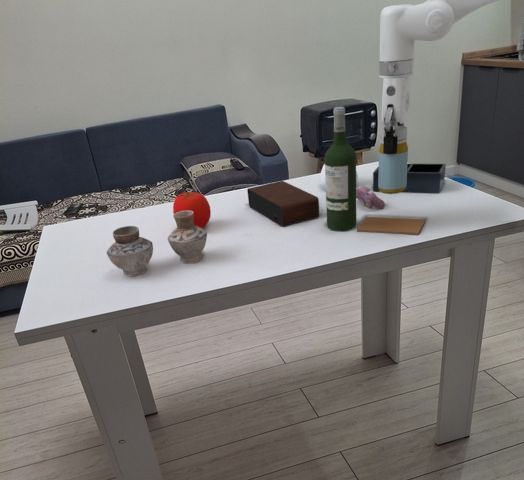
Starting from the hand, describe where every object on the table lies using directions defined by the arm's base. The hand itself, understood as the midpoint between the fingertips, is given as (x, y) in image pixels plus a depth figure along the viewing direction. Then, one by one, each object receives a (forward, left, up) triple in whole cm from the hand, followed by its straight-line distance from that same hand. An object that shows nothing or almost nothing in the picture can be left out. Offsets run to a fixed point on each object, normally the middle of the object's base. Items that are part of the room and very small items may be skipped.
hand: (393, 149), depth 132 cm
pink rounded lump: (+10, -15, -20) cm, 27 cm away
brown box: (+34, -7, -20) cm, 40 cm away
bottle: (0, 0, -10) cm, 10 cm away
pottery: (+50, +35, -20) cm, 64 cm away
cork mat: (0, 0, -20) cm, 20 cm away
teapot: (+24, -32, -20) cm, 45 cm away
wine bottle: (+13, +2, -20) cm, 24 cm away
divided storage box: (+2, -34, -20) cm, 39 cm away
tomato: (+55, +10, -20) cm, 59 cm away
